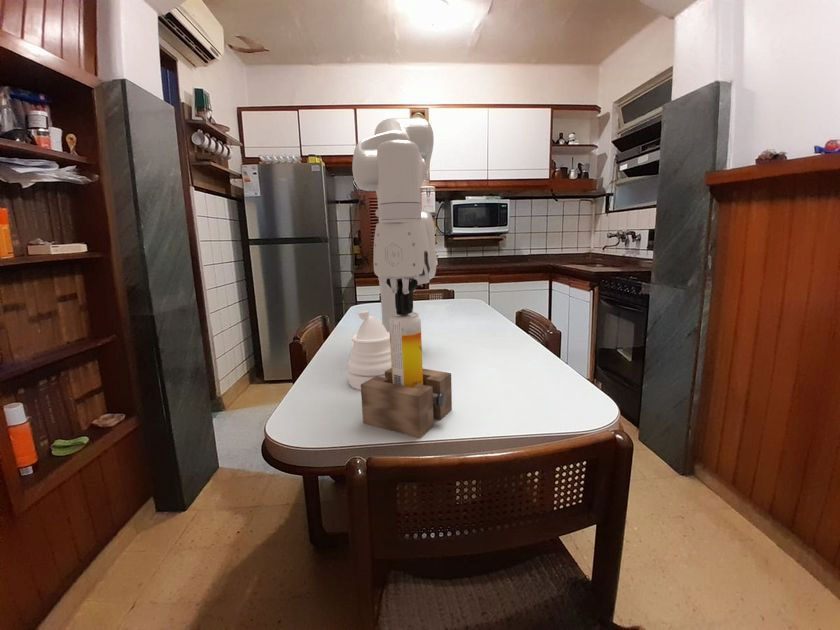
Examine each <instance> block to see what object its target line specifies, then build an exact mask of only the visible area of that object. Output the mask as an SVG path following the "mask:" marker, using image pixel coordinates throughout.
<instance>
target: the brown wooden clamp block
mask: <svg viewBox="0 0 840 630" xmlns="http://www.w3.org/2000/svg"><path fill="white" fill-rule="evenodd" d="M452 391H453V390H452V372H446V371H440V370H433V369H428V368H423V385H421V384H418V385H417V386H415V387H414V388H412V387H407V386H402V385H397V384H392V368H390V369H388V370H386V371H385V378H384V377H378V376H375V377H373V378H372V379H370V380H368V381H366V382H364V383H362V384H361V390H360V393H361V394H360V395H361V408H362V409H361V411H362V423H363V424H365V423H366V425H369V424H371V425H370V426H373V425H374V427H377V428H381V429H385V430H387V431H388V430H389V431H392V432H396V433H400V434H404V435H407V436H411V437H414V438H415V437H416V438H419V439H422V437H424V435H426V434H427V433H428V432H429V431H430V430H431V429H432V428H433V427H434V425H435V424H434V423H435V422H434V419H436V420H442V419H443V418H444V417H445V416H446V415H448V414H449V413H450V412H451V411H452V410H453V402H452V401H453V400H452V399H453V395H452ZM440 392H441V393H445V394H446V403H445V405H444V406H443V407H440V406H437V404H435V403H433V393H436V394H439V393H440Z"/></svg>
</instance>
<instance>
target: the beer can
mask: <svg viewBox="0 0 840 630" xmlns="http://www.w3.org/2000/svg"><path fill="white" fill-rule="evenodd" d="M421 321H422V320H421V318H420V316H419V313H417V312H415V311H413V312H412V313H410V314H407V315H402V314H401V315H397V313H394V314H392V315H391V317H390V320H389V331H390V349H391V366H392V384H397V385H402V386H407V387H412V388H414V387H415V386H417V385H418V384H421V385H423V369H424V368H423V367H424V366H423V350H422V349H423V348H422V346H423V345H422V343H423V340H422V322H421Z"/></svg>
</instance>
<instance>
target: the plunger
mask: <svg viewBox="0 0 840 630" xmlns="http://www.w3.org/2000/svg"><path fill="white" fill-rule="evenodd" d="M433 403H435V404H437V406H440V407H443V406H444V405H445V403H446V394H445V393H441V392H440V393H439V394H436V393H433Z"/></svg>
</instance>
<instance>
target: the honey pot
mask: <svg viewBox="0 0 840 630" xmlns="http://www.w3.org/2000/svg"><path fill="white" fill-rule="evenodd" d="M357 313H358V317H359V318H360V319H361V320H362V323H361V325H360V326H359V328H358V331H357V333H355V334H353V335H352V336H351V341H352V342H353V345H352V348H351V350H350V351H351V353H350V355H349V360H347V368H348V369H347V370H348V383H349V384H350V385H351V386H352V387H351V386H350V385H349V386H350V387H351V388H353V387H354V388H356V389H355V390H358V389H359V390H358V391H361V384H362V383H364V382H366V381H368V380H370V379H372V378H373V377H375V376H378V377H384V378H385V371H386V370H388V369H390V368H392V366H391V349H390V333H389V332H387V331H386V329H385V327H384V325H383V324H382V320H380V319H379V318H378V317H376V316H374V315H369V314H370V311H369V310H360V311H358V312H357ZM354 388H353V389H354Z"/></svg>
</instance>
